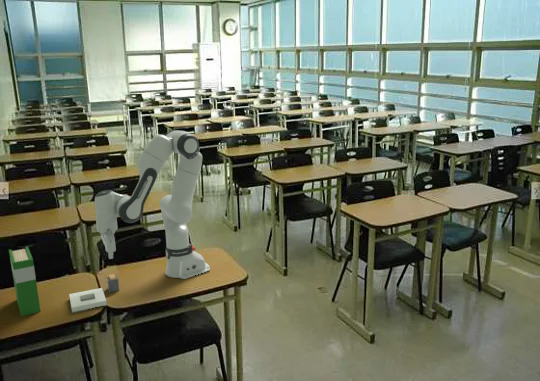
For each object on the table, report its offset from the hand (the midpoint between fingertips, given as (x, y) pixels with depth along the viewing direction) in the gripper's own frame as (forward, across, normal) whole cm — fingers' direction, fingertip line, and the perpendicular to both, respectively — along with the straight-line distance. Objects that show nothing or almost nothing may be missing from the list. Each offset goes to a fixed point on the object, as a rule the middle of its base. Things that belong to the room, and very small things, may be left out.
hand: (109, 254), depth 215 cm
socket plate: (+18, -8, +12) cm, 23 cm away
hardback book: (+18, +1, +35) cm, 40 cm away
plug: (+18, 0, 0) cm, 18 cm away
